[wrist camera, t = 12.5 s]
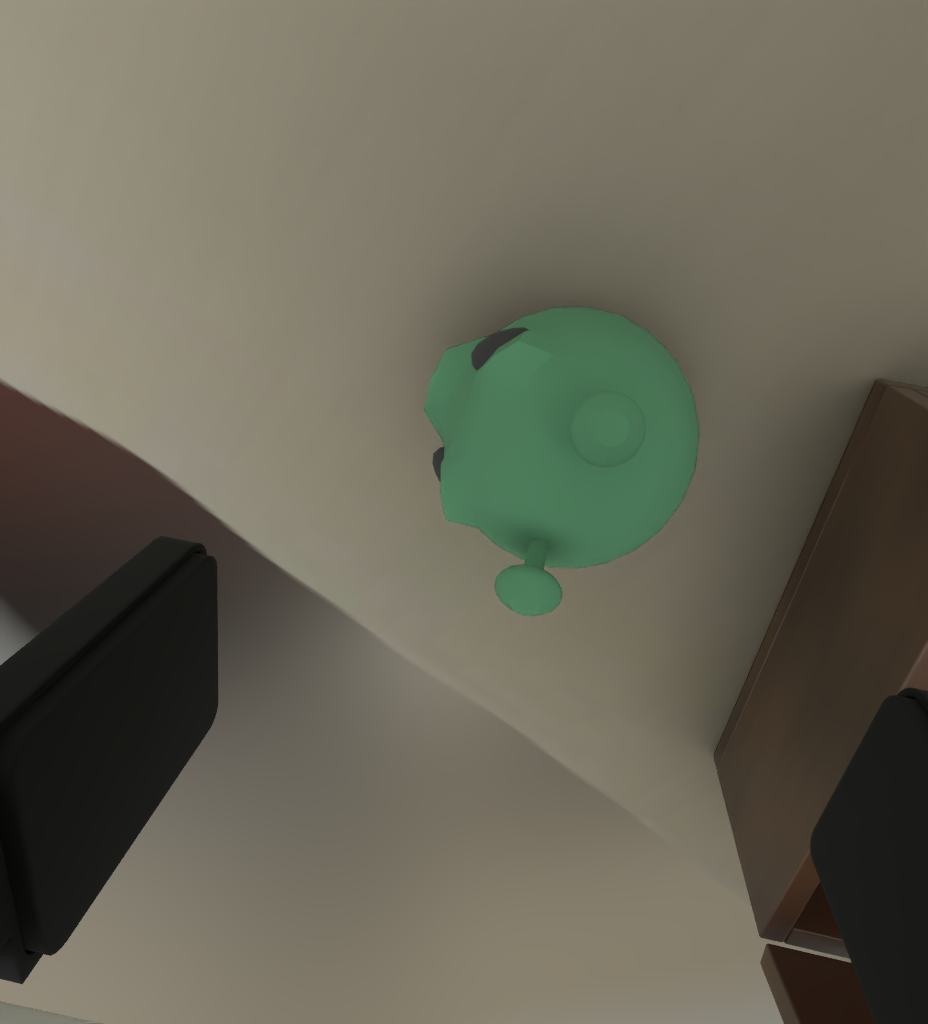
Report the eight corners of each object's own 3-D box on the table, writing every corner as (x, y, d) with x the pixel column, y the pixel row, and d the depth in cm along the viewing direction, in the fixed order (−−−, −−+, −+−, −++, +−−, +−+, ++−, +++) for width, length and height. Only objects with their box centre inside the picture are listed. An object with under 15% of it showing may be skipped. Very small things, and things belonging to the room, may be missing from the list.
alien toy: (491, 245, 21) (433, 281, 12) (714, 338, 21) (818, 440, 12) (421, 439, 24) (334, 581, 15) (616, 518, 24) (643, 703, 16)
